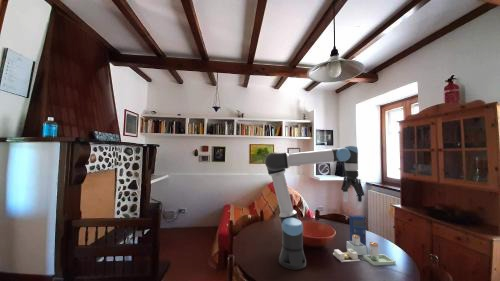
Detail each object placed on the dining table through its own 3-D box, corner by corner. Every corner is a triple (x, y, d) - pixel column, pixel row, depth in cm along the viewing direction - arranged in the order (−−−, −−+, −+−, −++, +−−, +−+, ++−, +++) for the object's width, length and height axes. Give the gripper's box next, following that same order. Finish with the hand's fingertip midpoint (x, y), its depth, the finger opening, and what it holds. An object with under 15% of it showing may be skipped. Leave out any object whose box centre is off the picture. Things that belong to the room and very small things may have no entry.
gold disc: (344, 259, 121) (344, 256, 122) (341, 256, 125) (341, 253, 125) (350, 259, 122) (350, 256, 122) (346, 256, 125) (346, 253, 126)
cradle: (341, 262, 118) (341, 254, 118) (332, 254, 128) (332, 247, 128) (360, 262, 119) (359, 253, 120) (349, 254, 129) (349, 246, 129)
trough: (373, 266, 114) (373, 262, 115) (363, 258, 123) (363, 255, 123) (395, 265, 116) (395, 261, 116) (384, 257, 125) (383, 254, 125)
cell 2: (373, 263, 117) (373, 244, 117) (368, 259, 121) (367, 241, 122) (380, 262, 117) (380, 243, 118) (375, 259, 122) (374, 240, 122)
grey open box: (354, 256, 126) (354, 246, 127) (346, 250, 134) (346, 241, 135) (366, 255, 127) (366, 246, 127) (358, 249, 135) (358, 240, 136)
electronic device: (352, 247, 139) (352, 216, 141) (349, 243, 144) (348, 214, 146) (366, 247, 139) (366, 217, 140) (362, 244, 144) (362, 215, 145)
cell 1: (355, 253, 128) (354, 236, 129) (351, 250, 133) (350, 233, 133) (361, 253, 129) (361, 236, 130) (357, 250, 133) (357, 233, 134)
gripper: (370, 171, 118) (371, 209, 116) (345, 169, 143) (346, 199, 141) (358, 171, 117) (359, 209, 115) (335, 168, 142) (335, 200, 140)
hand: (352, 204), depth 128 cm, fingers open, 13 cm apart
